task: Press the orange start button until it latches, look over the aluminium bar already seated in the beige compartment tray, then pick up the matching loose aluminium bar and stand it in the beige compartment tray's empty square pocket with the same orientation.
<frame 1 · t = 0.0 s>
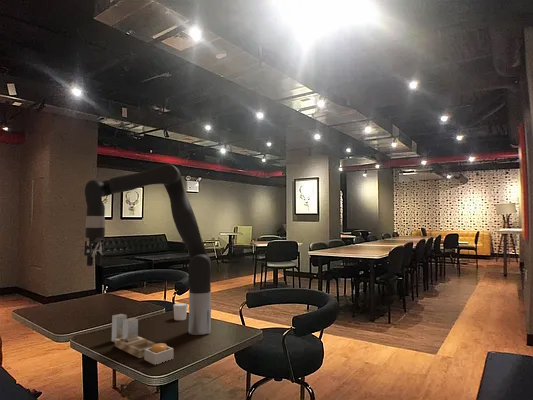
hand: (94, 264, 150), 29 cm above the table, tool pointing down, fingers open, 8 cm apart
beige compartment tray: (136, 349, 131), on the table
seated billet: (130, 346, 135), resting in beige compartment tray
start button: (159, 349, 122), point 3 cm above the table, slide at 0.0 cm
loose billet: (118, 340, 141), on the table
start button housing: (158, 359, 122), on the table
shot glass: (180, 319, 173), on the table
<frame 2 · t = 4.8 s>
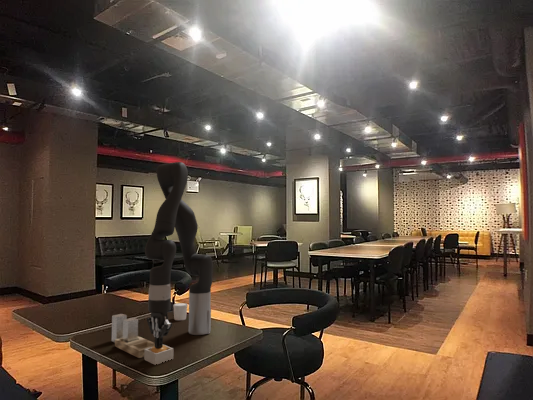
hand: (158, 347, 122), 4 cm above the table, tool pointing down, fingers closed
start button: (159, 351, 122), point 3 cm above the table, slide at 0.7 cm, touching gripper
everything else where it was.
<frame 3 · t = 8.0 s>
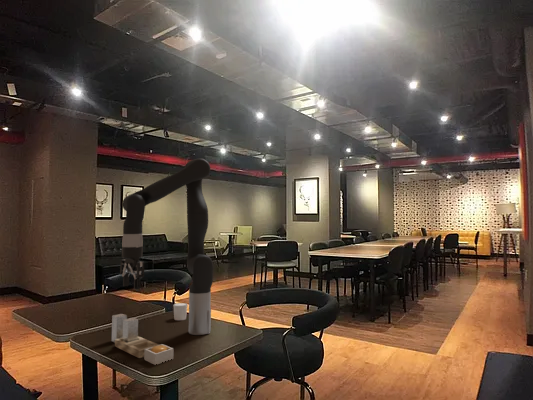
hand: (131, 287, 136), 22 cm above the table, tool pointing down, fingers open, 8 cm apart
start button: (159, 351, 122), point 3 cm above the table, slide at 0.7 cm
everything else where it was.
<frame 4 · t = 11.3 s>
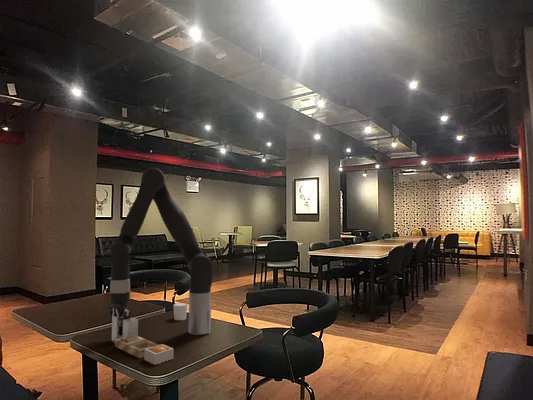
hand: (119, 333, 141), 3 cm above the table, tool pointing down, fingers closed on loose billet, 4 cm apart
loose billet: (118, 340, 141), on the table, touching gripper
everything else where it was.
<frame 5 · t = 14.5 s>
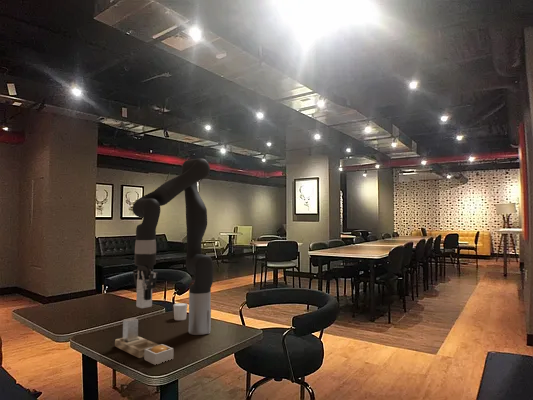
hand: (144, 298, 130), 19 cm above the table, tool pointing down, fingers closed on loose billet, 4 cm apart
loose billet: (144, 306, 129), point 16 cm above the table, touching gripper
everything else where it was.
when the fingers open (4 cm above the table, at t = 18.1 s): loose billet drops 1 cm, resting in beige compartment tray.
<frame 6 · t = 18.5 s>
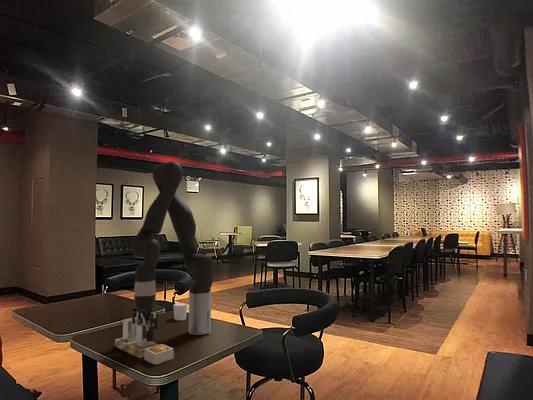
hand: (144, 338, 128), 5 cm above the table, tool pointing down, fingers open, 7 cm apart
loose billet: (143, 352, 128), resting in beige compartment tray
everything else where it was.
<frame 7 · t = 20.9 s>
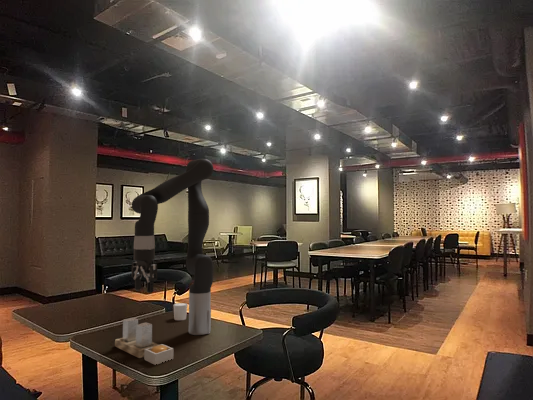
hand: (143, 290, 133), 22 cm above the table, tool pointing down, fingers open, 8 cm apart
nothing on the table moved.
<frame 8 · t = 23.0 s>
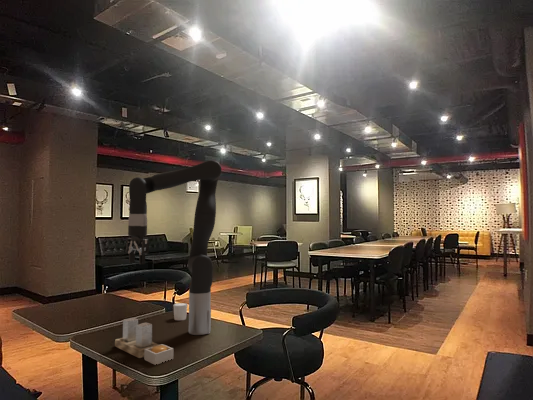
hand: (136, 263, 148), 30 cm above the table, tool pointing down, fingers open, 8 cm apart
nothing on the table moved.
at the end: loose billet 0.1 cm from the target spot on the beige compartment tray, point 0.0 cm above the beige compartment tray's base; loose billet tilted 0°; start button slide at 0.7 cm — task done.
